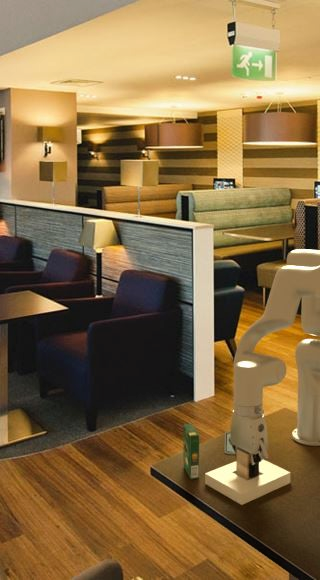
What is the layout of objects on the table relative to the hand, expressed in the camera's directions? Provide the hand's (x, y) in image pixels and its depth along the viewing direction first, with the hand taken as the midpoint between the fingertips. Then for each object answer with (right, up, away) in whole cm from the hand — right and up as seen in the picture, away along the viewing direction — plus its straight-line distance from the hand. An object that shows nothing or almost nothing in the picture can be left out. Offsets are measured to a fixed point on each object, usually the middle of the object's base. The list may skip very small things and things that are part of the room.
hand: (247, 472), depth 167 cm
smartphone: (0, +1, +25) cm, 25 cm away
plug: (0, -1, 0) cm, 1 cm away
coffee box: (-15, -2, +7) cm, 16 cm away
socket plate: (0, -3, +1) cm, 3 cm away
